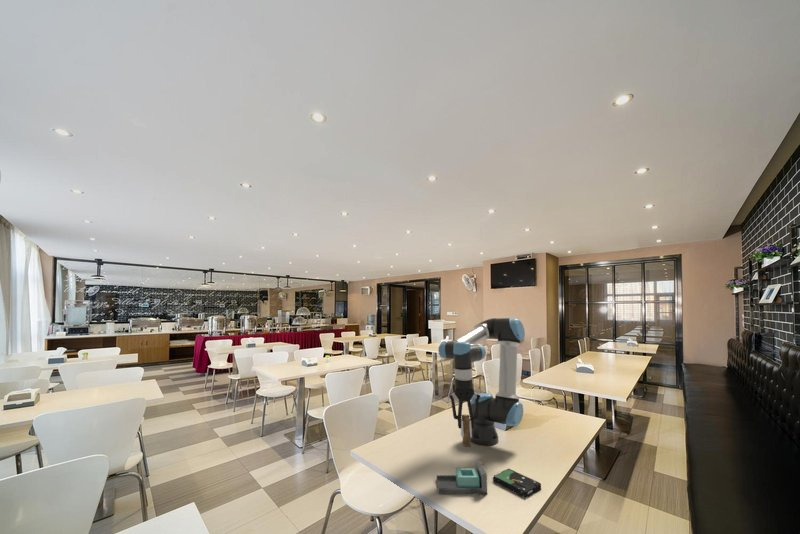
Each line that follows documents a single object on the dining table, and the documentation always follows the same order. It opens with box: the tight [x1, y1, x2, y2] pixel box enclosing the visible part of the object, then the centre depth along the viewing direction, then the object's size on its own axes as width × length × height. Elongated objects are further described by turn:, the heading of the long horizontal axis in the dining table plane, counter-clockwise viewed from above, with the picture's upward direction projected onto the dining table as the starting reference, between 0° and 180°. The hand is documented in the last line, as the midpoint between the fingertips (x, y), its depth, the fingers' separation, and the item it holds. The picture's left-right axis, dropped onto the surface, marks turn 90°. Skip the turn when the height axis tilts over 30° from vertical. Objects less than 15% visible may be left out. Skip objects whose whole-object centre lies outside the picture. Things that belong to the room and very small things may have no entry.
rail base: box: [436, 461, 488, 495], centre depth 123 cm, size 18×10×7 cm, turn 88°
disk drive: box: [492, 468, 542, 499], centre depth 124 cm, size 10×3×15 cm
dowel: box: [461, 414, 472, 448], centre depth 134 cm, size 3×3×12 cm
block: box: [455, 467, 480, 487], centre depth 123 cm, size 8×7×4 cm
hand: (466, 435), depth 134 cm, fingers closed on dowel, 3 cm apart
